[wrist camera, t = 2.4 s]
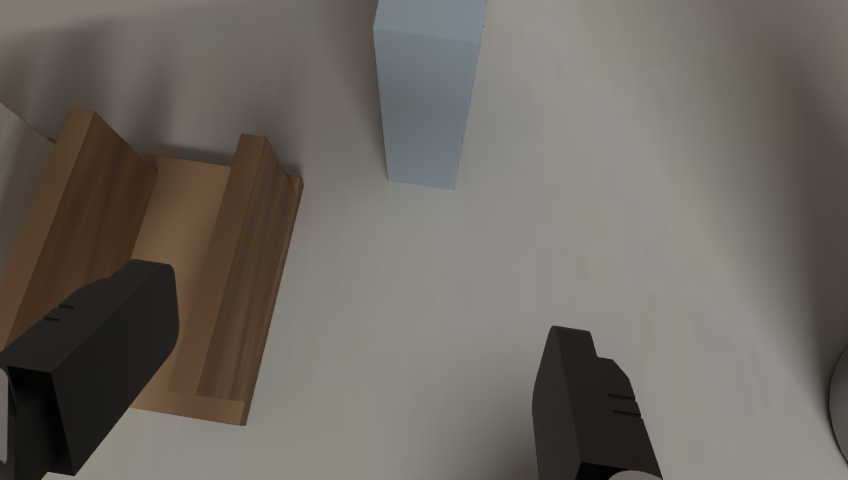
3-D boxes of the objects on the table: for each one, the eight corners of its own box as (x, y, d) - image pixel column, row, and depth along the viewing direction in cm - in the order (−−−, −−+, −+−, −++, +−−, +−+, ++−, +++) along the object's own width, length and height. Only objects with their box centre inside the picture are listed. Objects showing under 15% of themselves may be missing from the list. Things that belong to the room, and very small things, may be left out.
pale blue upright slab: (473, 60, 32) (507, -140, 21) (454, 190, 30) (480, 43, 18) (412, 52, 32) (412, -153, 21) (388, 180, 30) (372, 27, 18)
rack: (303, 185, 30) (251, 70, 20) (245, 425, 26) (147, 426, 16) (5, 139, 30) (-184, 7, 20) (-93, 369, 26) (-380, 337, 17)
